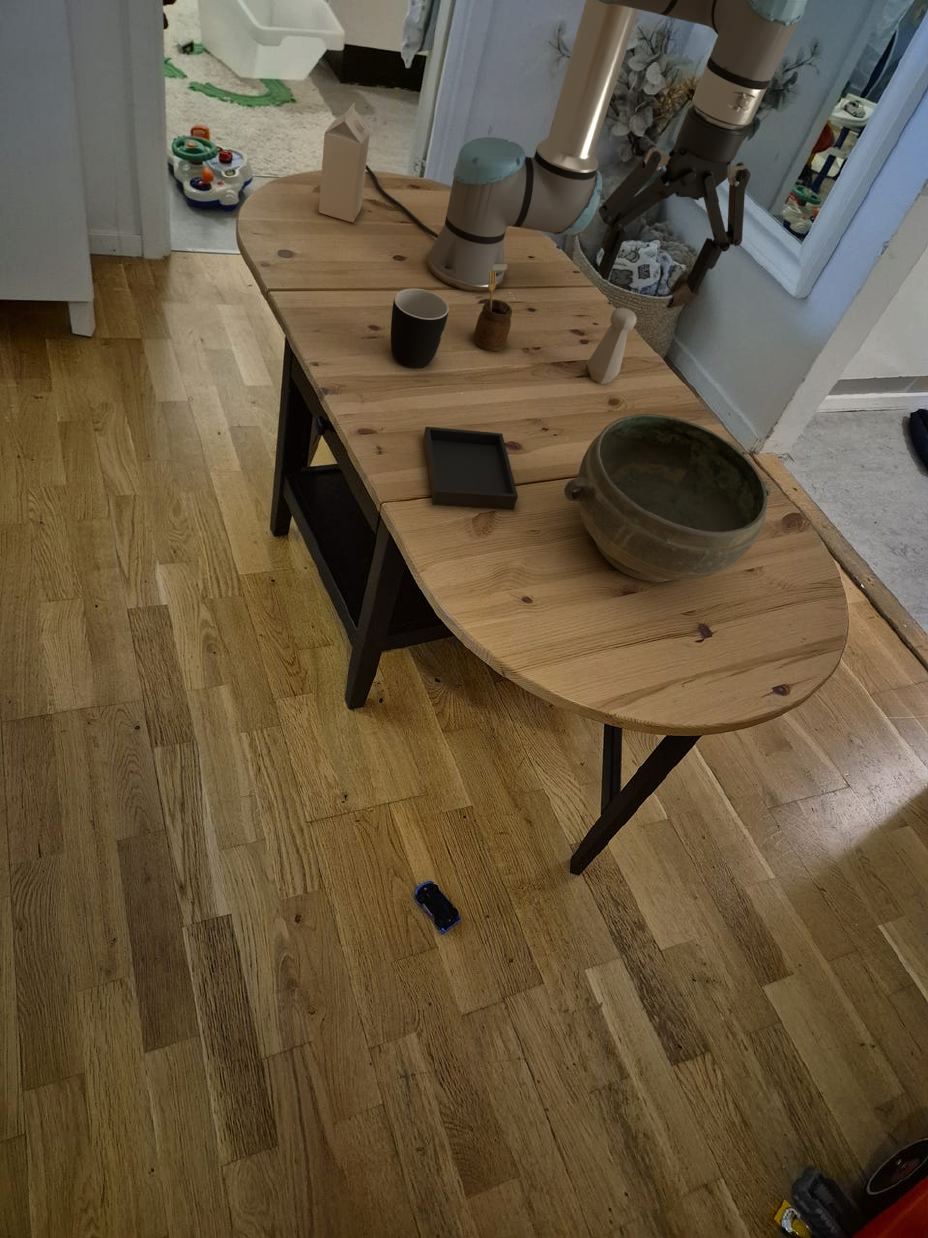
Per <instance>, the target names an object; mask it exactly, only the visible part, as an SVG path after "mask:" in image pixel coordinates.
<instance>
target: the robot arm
mask: <svg viewBox="0 0 928 1238" xmlns="http://www.w3.org/2000/svg"><path fill="white" fill-rule="evenodd" d="M807 3H808V0H585V2H584V5H583V9H582V12H581V16H580V20H579V23H578V27H577V31H576V34H575V38H574V42H573V45H572V49H571V53H570V57H569V60H568V63H567V67H566V71H565V75H564V79H563V81H562V85H561V89H560V93H559V96H558V100H557V104H556V108H555V110H554V111H555V112H554V115H553V119H552V121H551V126H550V129H549V133H548V136H547V137H546V138H544V139H543V140H541V141H540V142H539V143H537V145H536V148H535V152H534V155H533V157H532V156H526V153H525V150H524V148H523V147H522V146H521V145H520V144H518V143H516V142H514V141H509V140H508V139H506V138H502V137H501V138H500V137H490V136H489V137H487V136H486V137H478V138H473V139H471V140H470V141H468V142H466V143H465V144H464V145H462V147H461V148H460V150H459V153H458V156H457V159H456V163H455V167H454V169H453V178H452V183H451V190H450V194H449V200H448V204H447V210H446V216H445V220H444V224H443V226H442V228H441V230H440V232H439V234H437V233H436V232H435V231H433V230H432V229H430V228H428V227H427V225H425V224H424V223H423V222H421V221H420V220H419V219H418V218H416V216H414V214H412V212H411V211H410V210H408V209H407V208H406V207H405V206H404V205H403V204H402V203H400V202H399V201H397V200H396V199H394V197H392V196H391V195H390V194H388V193H387V192H386V191H384V189H383V188H382V187H381V185H380V184H379V181H378V179H377V176H376V175H375V173H374V171H372V169H371V168H370V167H369V165H368V164H366V171H367V172H368V174H369V175H370V176H371V179H372V181H373V183H374V185H375V187H376V189H377V191H379V192H380V194H381V195H382V196H384V197H385V198H386V199H387V200H389V201H390V202H391V203H393V205H395V206H397V207H398V208H399V209H400V210H401V211H403V212H404V213H405V214H406V215H407V216H408V217H409V218H410V219H411V220H413V222H415V224H417V225H418V226H419V227H420V228H421V230H423V231H425V232H426V233H428V234H429V235H431V236H432V237H434V238H435V241H434V243H433V244H432V246H431V248H430V250H429V253H428V258H427V267H428V269H429V270H430V272H431V274H433V276H434V277H435V278H437V279H438V280H439V281H441V282H443V283H444V284H446V285H449V286H451V287H453V288H456V289H459V290H464V291H467V292H474V293H475V292H479V293H480V292H482V293H483V292H490V290H488V285H489V273H490V271H491V278H492V271H494V272H495V270H496V286H495V289H498V288H499V287H500V286H501V285H502V283H503V281H504V278H505V272H506V271H507V268H508V265H509V264H508V263H505V245H504V240H505V236H506V232H507V229H508V227H512V228H519V229H525V230H532V231H537V232H538V231H539V232H543V233H550V234H554V235H557V236H559V235H567V236H568V235H569V236H574V235H578V234H580V233H581V232H583V231H584V230H585V229H586V228H587V227H588V225H590V222H591V221H592V219H593V217H594V215H595V213H596V211H597V209H598V214H599V216H600V218H601V220H602V222H603V224H606V225H607V227H606V230H605V232H604V235H603V238H602V241H601V248H602V251H603V254H602V256H601V260H600V262H599V264H598V267H597V270H598V271H599V275H600V277H601V278H602V280H605V281H608V280H609V278H610V275H611V273H612V271H613V269H614V265H615V262H616V260H617V258H618V256H619V252H620V250H621V248H622V246H623V245H622V244H623V242H624V240H625V237H626V235H627V233H626V230H625V229H624V228H625V227H627V226H628V225H630V224H631V223H632V222H633V221H635V220H636V219H638V218H639V217H640V216H642V215H643V214H644V213H646V212H647V211H649V210H650V209H651V208H653V207H654V206H655V205H657V204H658V203H659V202H661V201H662V200H665V199H668V198H670V197H671V196H673V195H675V196H676V197H677V198H690V199H692V200H695V201H700V199H703V202H704V206H705V209H706V213H707V218H708V221H709V225H710V229H711V233H712V237H713V239H712V238H709V237H706V239H705V241H704V242H703V245H702V247H701V249H700V251H699V254H698V256H697V257H696V259H695V262H694V264H693V266H692V268H691V270H690V272H689V274H688V276H687V278H686V281H685V283H686V285H687V287H688V289H689V291H690V293H692V294H697V292H698V291H699V289H700V287H701V285H702V283H703V281H704V279H705V277H706V274H707V273H708V270H713V269H714V268H715V266H716V265H717V264H718V263H717V262H718V260H719V259H720V257H721V254H722V253H724V252H727V251H729V249H730V248H731V246H735V247H738V246H740V245H741V244H742V242H743V231H744V212H745V199H746V197H745V196H746V188H747V186H748V184H749V182H750V178H751V172H750V170H749V169H748V168H747V166H746V164H744V162H742V161H741V162H737V163H736V165H731V164H732V161H734V160H735V158H736V156H737V154H738V152H739V150H740V147H741V145H742V144H743V141H744V139H745V137H746V135H747V126H748V125H750V124H751V123H752V122H753V119H754V117H755V115H756V112H757V110H758V108H759V106H760V104H761V102H762V100H763V98H764V95H765V94H766V92H767V89H768V87H769V84H770V82H771V81H772V79H773V76H774V75H775V72H776V70H777V68H778V66H779V64H780V61H781V60H782V58H783V55H784V54H785V52H786V49H787V47H788V45H789V43H790V41H791V39H792V37H793V35H794V33H795V30H796V29H797V28H798V27H797V26H798V24H799V23H800V21H801V19H802V18H803V16H804V14H805V11H806V8H807V7H806V6H807ZM640 11H643V12H648V13H653V14H657V15H660V16H664V17H668V18H673V19H676V20H681V21H684V22H689V23H693V24H697V25H702V26H706V27H709V28H711V29H712V30H713V31H714V32H715V34H716V35H717V37H716V40H715V42H714V44H713V47H712V50H711V53H710V56H709V57H708V60H707V63H706V65H705V67H704V70H703V72H702V75H701V76H700V80H699V81H698V85H697V86H696V89H695V91H694V94H693V96H692V99H691V101H692V106H691V107H689V108H688V109H687V111H686V114H685V116H684V119H683V120H682V123H681V125H680V127H679V128H680V129H679V131H678V134H677V136H676V140H675V142H674V146H673V147H672V148H671V150H670V151H669V152H665V151H663V150H660V149H658V148H657V146H656V144H649V145H648V146H647V148H646V150H645V151H644V153H643V156H642V157H641V160H640V162H639V163H638V164H637V165H636V166H635V167H634V168H633V169H632V171H631V172H630V173H629V174H628V175H627V177H625V178H624V179H623V180H622V182H621V183H620V184H619V185H618V186H617V188H615V190H614V191H613V192H612V193H611V194H610V196H608V197H607V199H606V200H605V201H604V202H603V203H602V205H601V206H599V203H600V199H601V195H600V194H601V192H602V189H603V177H602V174H601V172H600V171H599V169H598V168H599V160H598V157H597V156H596V153H595V150H596V146H597V144H598V140H599V137H600V134H601V131H602V128H603V125H604V122H605V120H606V119H605V118H606V115H607V113H608V110H609V106H610V103H611V99H612V96H613V94H614V90H615V88H616V84H617V81H618V78H619V74H620V72H621V68H622V65H623V62H624V59H625V56H626V53H627V50H628V47H629V44H630V40H631V37H632V34H633V31H634V28H635V24H636V21H637V18H638V16H639V12H640ZM663 166H665V170H664V171H663V172H661V173H660V174H659V175H657V176H656V177H655V179H654V180H653V182H652V183H650V184H649V185H648V186H647V187H645V188H644V186H646V184H647V183H648V182H649V181H650V179H651V178H652V177H653V176H654V174H655V173H656V172H660V170H661V168H662V167H663ZM726 180H727V182H728V184H729V185H728V203H727V204H728V206H727V207H728V209H727V231H726V228H725V223H724V219H723V215H722V211H721V207H720V199H719V194H718V191H717V187H718V186H720V185H721V184H722V183H723V182H725V181H726ZM642 188H644V189H642ZM598 206H599V208H598ZM493 283H494V276H493ZM495 289H494V290H495Z"/></svg>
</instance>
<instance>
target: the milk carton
mask: <svg viewBox="0 0 928 1238" xmlns="http://www.w3.org/2000/svg"><path fill="white" fill-rule="evenodd" d="M355 107H356V102H353V103H352V104H351V106H350V107H349V108H348V109H347V110H346V112H345V113H344V114H343V115H341V116H339V117H337V118H336V119H334V120H333V122H332V123H331V124H330V125H329V126H328V128H327V129H326V130H325V131H324V134H323V150H322V163H321V174H320V175H321V176H320V190H319V202H318V203H319V204H318V213H319V214H322V215H324V216H325V215H326V216H329V217H332V218H336V219H339V220H342V221H346V222H349V223H354V222H355V220H356V218H357V217H358V215H359V213H360V211H361V210H362V204H363V195H364V187H365V178H366V171H367V170H366V165H367V163H368V153H369V143H370V137H371V136H370V134H371V130H370V129H369V127H368V126H367V125H366V123H365V121H364V120H363V119H362V117H361V116H360V114H359V113H358V112H357V110H356V109H355Z"/></svg>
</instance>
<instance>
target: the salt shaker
mask: <svg viewBox="0 0 928 1238" xmlns="http://www.w3.org/2000/svg"><path fill="white" fill-rule="evenodd" d="M610 315H611V316H610V326H609V327H608V329H607V331H606V332H605V334H604V335H603V337H602V339H601V340H600V341H599V343H598V345H597V346H596V347H595V350H594V351H593V353H592V354H591V356H590V357H589V359H588V374H589V376H590V379H591V380H593V381H594V382H597V383H598V384H601V385H602V384H604V385H605V384H610V383H611V382H612V381H613V380H614V379H616V377H617V376H618V375H619V374H620V372H621V368H622V363H623V357H624V353H625V349H626V343H627V340H628V339H627V338H628V334H629V331H632V330H633V329H634V327H635V325H636V324H637V319H638V318H637V315H636V314H635V312H634V311H632V310H631V309H629V308H626V307H617V308H615V309H613V311H612V313H611V314H610Z"/></svg>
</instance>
